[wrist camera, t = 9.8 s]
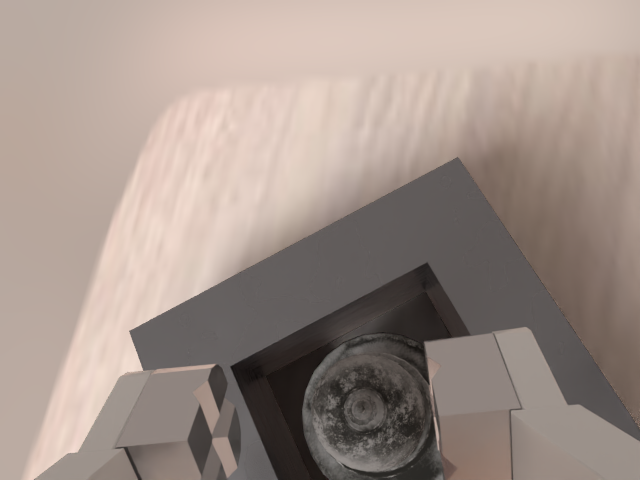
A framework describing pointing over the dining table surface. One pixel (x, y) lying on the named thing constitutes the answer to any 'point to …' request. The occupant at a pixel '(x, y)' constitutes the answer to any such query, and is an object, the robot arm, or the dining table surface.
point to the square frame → (369, 307)
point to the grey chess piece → (372, 412)
